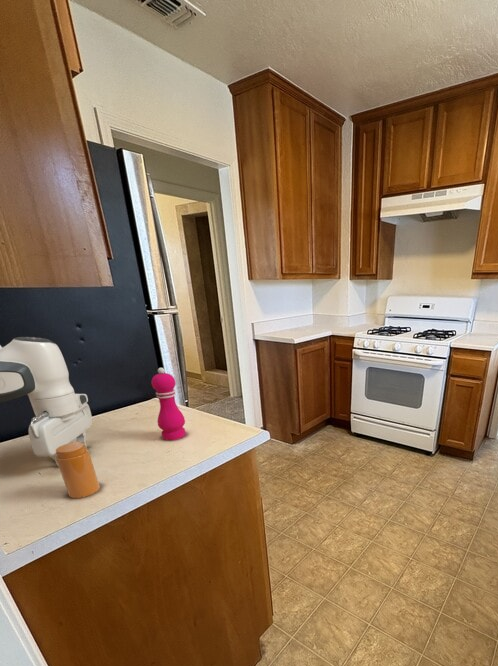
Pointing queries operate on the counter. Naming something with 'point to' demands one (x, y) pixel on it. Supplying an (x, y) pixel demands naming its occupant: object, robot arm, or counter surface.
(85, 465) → the jar
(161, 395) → the pepper mill
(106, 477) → the counter surface
